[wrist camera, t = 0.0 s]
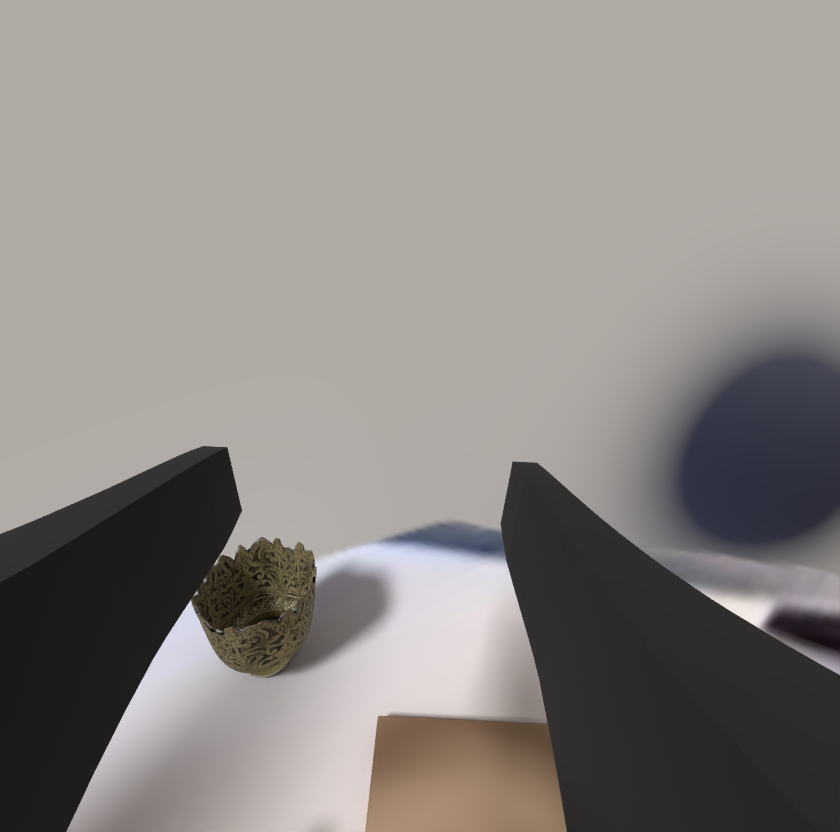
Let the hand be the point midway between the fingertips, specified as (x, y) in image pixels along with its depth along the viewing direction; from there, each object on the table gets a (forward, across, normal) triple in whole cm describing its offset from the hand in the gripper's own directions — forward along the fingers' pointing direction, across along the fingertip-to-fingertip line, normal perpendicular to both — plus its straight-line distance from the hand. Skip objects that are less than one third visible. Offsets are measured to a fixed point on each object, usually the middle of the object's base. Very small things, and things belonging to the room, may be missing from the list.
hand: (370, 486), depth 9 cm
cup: (+8, +9, +23) cm, 26 cm away
